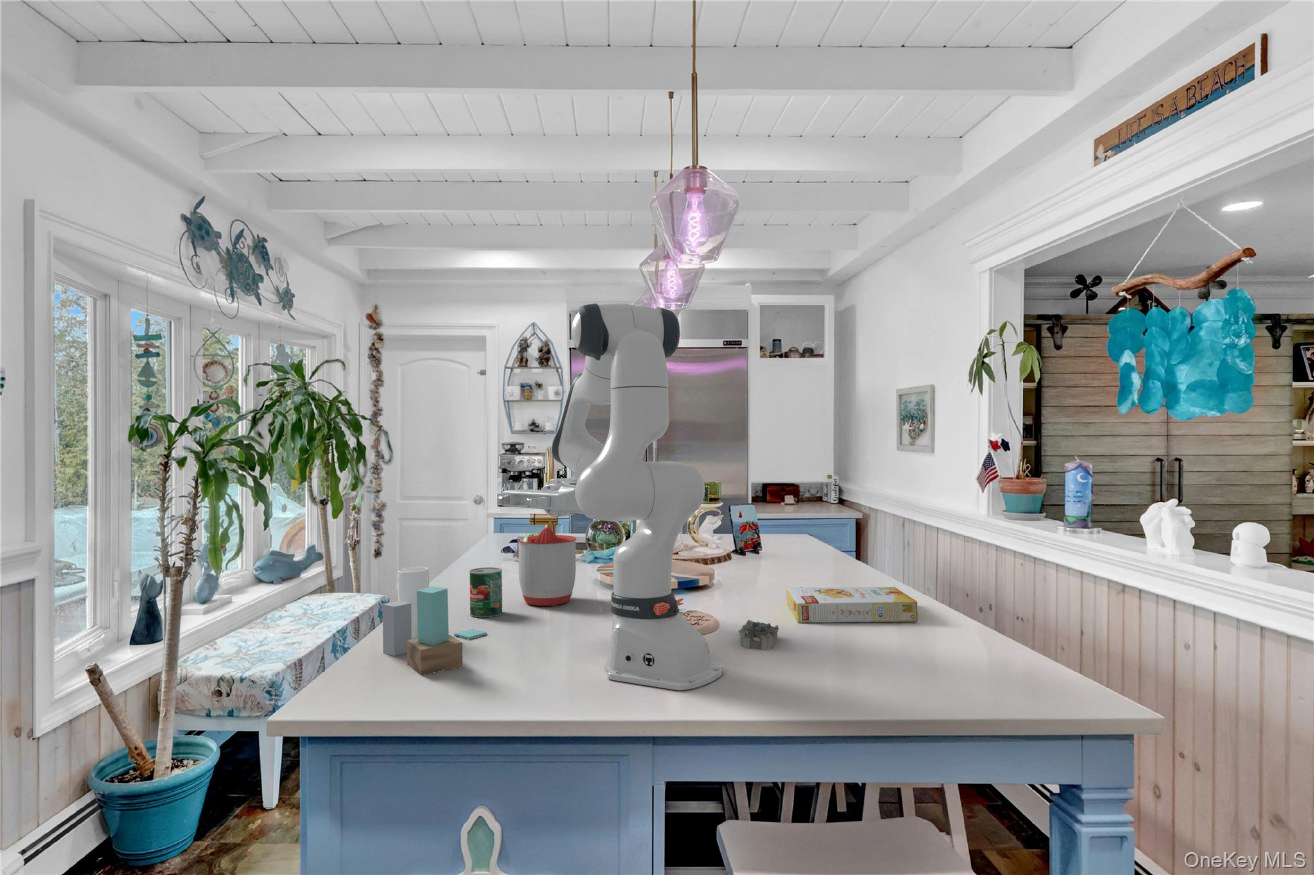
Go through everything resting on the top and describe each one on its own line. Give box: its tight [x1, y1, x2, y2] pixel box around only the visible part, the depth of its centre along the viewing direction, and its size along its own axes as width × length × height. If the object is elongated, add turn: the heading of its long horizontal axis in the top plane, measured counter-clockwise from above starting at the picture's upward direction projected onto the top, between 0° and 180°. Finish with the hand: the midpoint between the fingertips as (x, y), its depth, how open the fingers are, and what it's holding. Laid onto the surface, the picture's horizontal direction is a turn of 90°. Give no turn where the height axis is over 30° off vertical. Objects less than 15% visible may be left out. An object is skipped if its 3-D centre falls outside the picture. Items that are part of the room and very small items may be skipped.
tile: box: [453, 628, 488, 640], centre depth 163 cm, size 5×5×1 cm
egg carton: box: [737, 619, 780, 651], centre depth 156 cm, size 11×8×4 cm
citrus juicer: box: [512, 527, 577, 607], centre depth 196 cm, size 16×17×20 cm
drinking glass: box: [396, 566, 430, 639], centre depth 163 cm, size 7×7×15 cm
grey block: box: [382, 600, 412, 657], centre depth 151 cm, size 4×4×10 cm
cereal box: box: [785, 586, 919, 624], centre depth 181 cm, size 20×6×28 cm
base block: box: [406, 634, 464, 676], centre depth 142 cm, size 8×8×5 cm
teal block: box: [417, 585, 450, 645], centre depth 142 cm, size 4×4×10 cm
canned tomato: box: [469, 566, 503, 619], centre depth 183 cm, size 8×8×11 cm
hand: (513, 501), depth 161 cm, fingers open, 8 cm apart
